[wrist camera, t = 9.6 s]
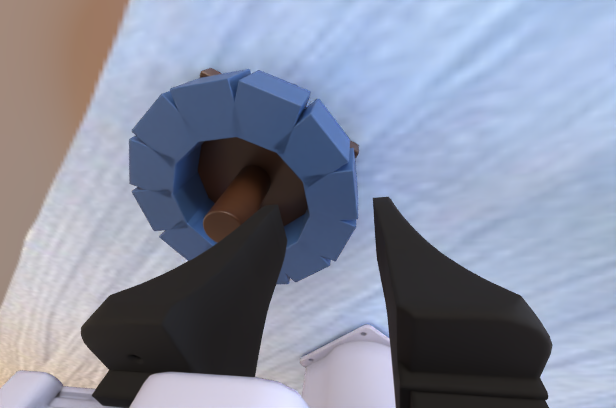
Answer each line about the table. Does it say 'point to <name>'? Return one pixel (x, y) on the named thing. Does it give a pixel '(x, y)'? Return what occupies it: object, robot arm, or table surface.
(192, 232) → the ring
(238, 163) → the brown peg stand
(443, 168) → the table surface
